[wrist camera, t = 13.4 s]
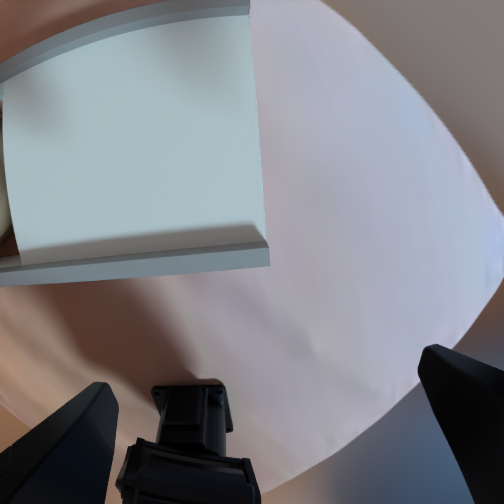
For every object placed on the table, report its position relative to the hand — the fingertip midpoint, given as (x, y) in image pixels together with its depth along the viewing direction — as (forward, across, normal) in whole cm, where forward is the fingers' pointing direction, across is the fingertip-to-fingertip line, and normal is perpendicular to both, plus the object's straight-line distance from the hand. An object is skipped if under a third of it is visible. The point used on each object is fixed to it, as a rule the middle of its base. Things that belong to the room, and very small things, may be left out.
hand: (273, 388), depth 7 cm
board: (+13, +14, -7) cm, 21 cm away
